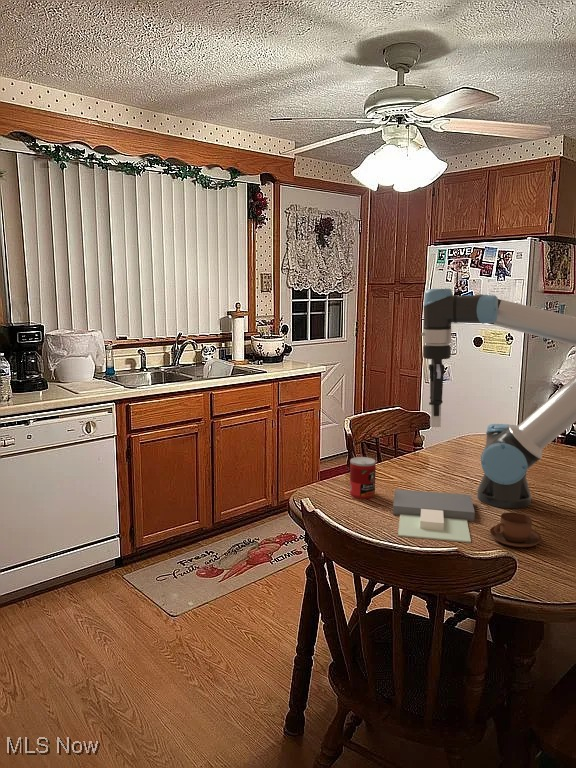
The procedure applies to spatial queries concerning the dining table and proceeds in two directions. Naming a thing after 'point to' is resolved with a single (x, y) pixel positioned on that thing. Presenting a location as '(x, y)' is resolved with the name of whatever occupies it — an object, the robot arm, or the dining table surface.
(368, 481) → the canned food
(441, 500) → the plate
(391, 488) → the dining table surface
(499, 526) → the cup and saucer
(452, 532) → the sage mat
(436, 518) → the cream flat block
